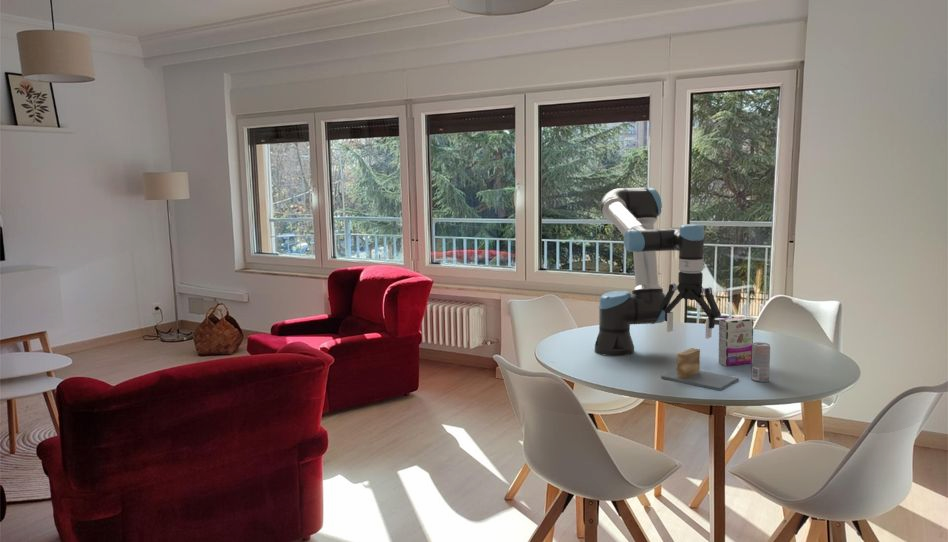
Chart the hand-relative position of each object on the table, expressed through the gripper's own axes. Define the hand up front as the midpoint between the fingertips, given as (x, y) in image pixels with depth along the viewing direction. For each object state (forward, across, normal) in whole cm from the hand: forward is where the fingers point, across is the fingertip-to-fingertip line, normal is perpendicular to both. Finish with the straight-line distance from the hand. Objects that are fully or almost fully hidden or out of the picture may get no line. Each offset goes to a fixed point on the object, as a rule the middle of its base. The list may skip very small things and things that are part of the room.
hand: (688, 334), depth 208 cm
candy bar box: (+15, +6, +26) cm, 30 cm away
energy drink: (+15, +20, +12) cm, 27 cm away
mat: (+14, +4, 0) cm, 15 cm away
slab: (+14, +1, -1) cm, 14 cm away
